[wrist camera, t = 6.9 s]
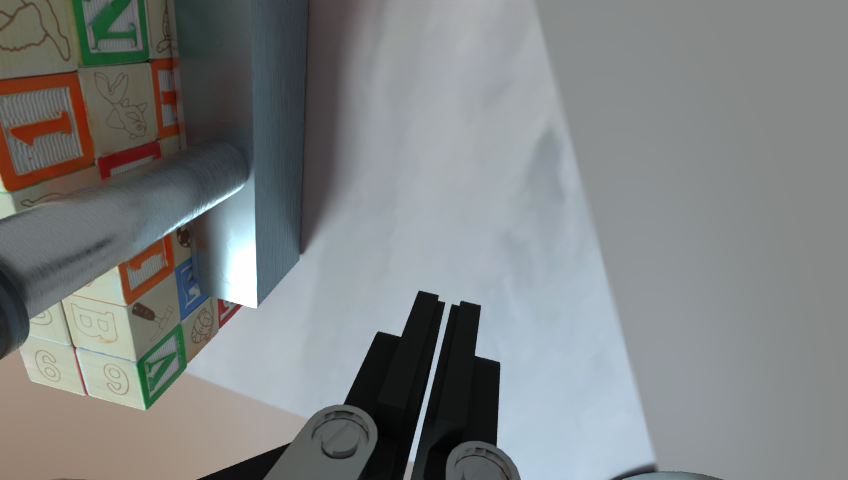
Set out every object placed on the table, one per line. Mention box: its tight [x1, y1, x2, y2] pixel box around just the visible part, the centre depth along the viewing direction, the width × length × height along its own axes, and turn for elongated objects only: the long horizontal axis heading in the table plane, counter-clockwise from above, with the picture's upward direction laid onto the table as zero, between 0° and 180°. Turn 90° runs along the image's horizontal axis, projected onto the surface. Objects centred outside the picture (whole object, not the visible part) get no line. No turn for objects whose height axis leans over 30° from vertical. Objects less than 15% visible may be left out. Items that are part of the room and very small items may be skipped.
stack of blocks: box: [0, 0, 243, 411], centre depth 19 cm, size 21×6×12 cm, turn 171°
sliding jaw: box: [0, 0, 308, 360], centre depth 16 cm, size 4×14×16 cm, turn 171°
